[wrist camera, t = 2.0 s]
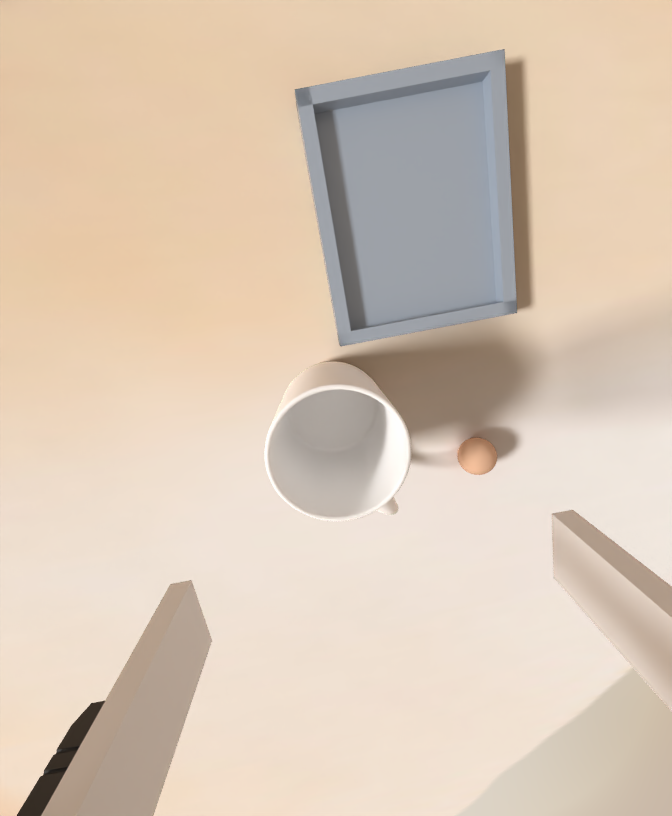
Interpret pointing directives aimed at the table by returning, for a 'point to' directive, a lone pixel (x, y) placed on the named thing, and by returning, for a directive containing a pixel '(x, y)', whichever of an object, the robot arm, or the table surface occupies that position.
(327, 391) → the mug
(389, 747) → the table surface
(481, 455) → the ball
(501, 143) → the tray
